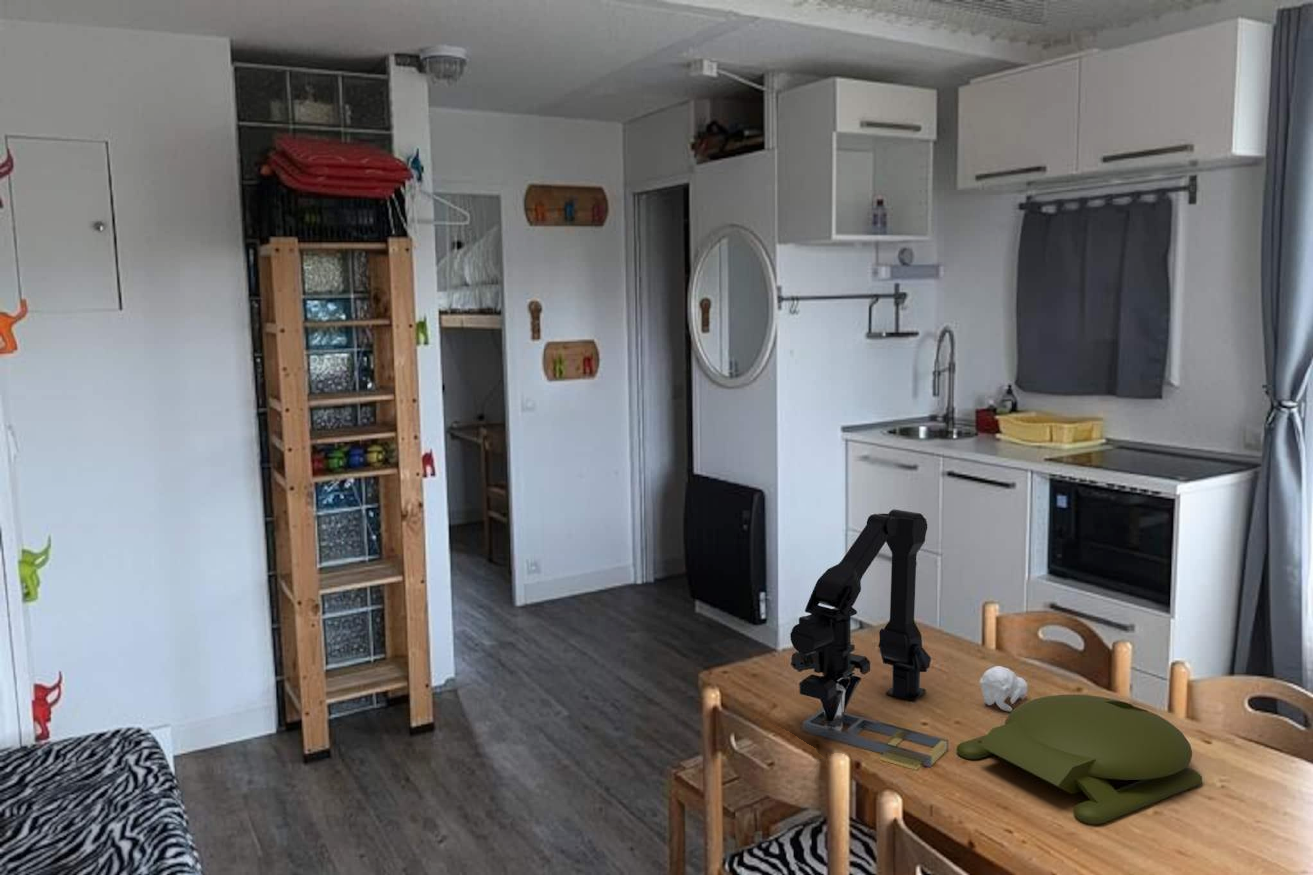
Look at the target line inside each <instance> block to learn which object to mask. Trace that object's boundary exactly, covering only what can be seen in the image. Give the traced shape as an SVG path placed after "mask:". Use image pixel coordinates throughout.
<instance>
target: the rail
mask: <svg viewBox="0 0 1313 875" xmlns="http://www.w3.org/2000/svg"><path fill="white" fill-rule="evenodd" d="M823 721H825V719H824V708H823V707H821V708H820V709H819V710H817V711H816V712H815V713H814V714H812V715H811V716H809V717H808V718H806V719H805V720H803V721H802V732H805V733H809V734H811V735H814V736H818V737H821V738H825V739H829V740H833V741H837V742H840V743H843V744H846V745H851V746H854V747H858V748H861V749H864V750H868V751H871V752H875V753H879V754H881V755H880V757H879V759H880V761H884V762H887V763H890V764H895V765H897V766H901V767H904V768H908V769H912V770H914V771H918V770H919V768H920V767H921V766H924V767H927V768H931V767H932V766H933V765H934V764H935V763H936V762H937V761H938V760H939V759H940V758H941V757H942V756H943V755H944V754H945V753H946V752H947V751H948V750H949V739H945V738H941V737H937V736H934V735H931V734H926V733H922V732H920V731H919V732H918V731H915V730H912V729H907V728H904V727H900V726H895V725H893V724H888V723H886V722H881V721H878V720H873V719H869V718H866V717H862V716H858V715H854V714H851V713H847V712H844V715H843V724H846V725H849V727H848V728H847V729H845V730H844V731H842V730H841V731H839V730H836V729H832V728H828V727H825V725H821V724H820V723H822V722H823ZM864 729H865V730H867V731H868V730H869V731H872V732H876V733H880V734H883V735H885V736H890V737H889V738H887V739H886V740H885V741H884V742H882V741H878V740H875V739H871V738H867V737H864V736H861V735H859V733H860V732H861V731H863V730H864ZM903 740H905V741H909V742H913V743H916V744H919V745H923V746H927V747H931V750H929V751H928V753H921V752H918V751H915V750H912V749H911V750H910V749H907V748H903V747H901V746H898V745H899V743H900V744H901V742H902V741H903Z"/></svg>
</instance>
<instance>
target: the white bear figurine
mask: <svg viewBox="0 0 1313 875" xmlns="http://www.w3.org/2000/svg"><path fill="white" fill-rule="evenodd" d="M979 685H980V689H981V690H980V691H981V693H982V697H983V700H984V702H985V704H986V705H988V706H992V705H994V704H995V703H996V705H997V707H998V708H1000V710H1002V711H1005V712H1009V713H1011V712H1012V711H1013V708H1012V707H1011V706H1010V705H1009V704H1008V703H1006V702H1005V700H1006V699H1007V698H1010V700H1009V702H1010V703H1011V704H1012V705H1013V704H1014V703H1015V702H1016V701H1017V700H1018V699H1022V701H1024V698H1026V697H1027V695H1028V694H1027V691H1028V683H1027V682H1026V680H1025V679H1024V678H1023V677H1021V676H1017V675H1016V674H1015V672H1013V670H1011V669H1009V668H1007V667H1004V666H1001V665H996V666H993V667H990V668H989V669H987V670H986V671H985V672H984V673H983V675H982V677H981V678H980V679H979Z"/></svg>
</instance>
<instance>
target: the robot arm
mask: <svg viewBox="0 0 1313 875" xmlns="http://www.w3.org/2000/svg"><path fill="white" fill-rule="evenodd" d="M866 520H867V521H866V525H865V527H864V528H862V530H861V532H860V533H859V535H858V536H857V538H856V539H855V541H854V542H853V543H852V545H851V546H850V548H849V549H848V551H847V552H846V554H845V555H844V556H843V558H842V559H841V561H840V562H839V563H837V564H835V565H834V566H831V567H830V568H827V569H826V570H825V572H823V574H822V575H821V576H820V577H819V578H818V579H817V581H816V582H815V585H814V587H813V589H812V593H811V595H810V597H809V599H808V602H807V604H806V607H805V609H804V611H805V613H808V614H809V615H804V616H803V615H802V616H800V617H799V618H798V623H796V624H795V625H794V626H793V627H792V629H791V632H790V636H789V637H790V642H791V645H792V646H793V648H794V649H795V650H796V651H795V652H793V653H792V654H791V658H790V659H791V662H790V666H791V667H792V669H794V670H796V672H797V673H800V672H803V671H807V670H813V674H809V675H808V676H807V677H805V678H804V679H802V680H801V681H800V682H799V683H798V693H799V694H800V695H803V696H806V697H809V698H814V699H817V700H820V703H821V706H822V708H824V711H825V714H826V717H827V720H828V721H831V722H833V721H834V718H835V715H836V712H837V709H838V706H839V703H840V700H841V697H842V694H843V691H840V690H838V684H840V685H842V686H843V687H844V688H845V689H846V688H847V689H846V694H845V703H844V712H845V711H846V709H847V706H848V705H849V704H850V703H849V702H850V700H851V699H852V696H853V694H854V693H855V691H856V689H857V687H858V685H859V683H860V682H861V681H862V677H860V676H856V675H855V674H856V673H855V669H858V670H859V672H860V674H861V675H863V676H864V675H867V674H868V673H869V672H870V671H871V661H870V660H869V659H868V658H867V656H863V655H860V654H855V653H852V652H854V651H855V649H856V647H855V646H856V645H855V644H852V643H851V636H852V634H851V633H852V632H851V626H852V625H851V621H852V620H851V619H852V618H851V617H852V616H855V615H857V614H858V611H857V609H855V608H854V607H853V606H854V605H855V603H856V601H857V599H858V597H859V596H860V592H862V584H861V582H862V579H863V576H864V575H865V573H866V572H867V570H868V569H869V567H870V565H872V563H873V562H874V560H875V558H876V557H877V556H878V554H879V552H880V551H881V549H882V548H883V546H884V545H885V544H887V546H888V548H889V550H890V552H891V574H890V575H891V576H890V580H891V581H890V597H889V598H890V601H889V602H890V603H889V619H888V620H889V621H888V622H887V624H886V625H884V628H880V630H879V634H878V635H879V643H878V646H877V647H878V648H879V652H880V653H879V654H881V660H882V662H883V665H884V664H885V665H890V666H891V669H892V671H891V672H892V673H891V681H892V682H891V683H892V684H891V685H892V686H891V687H890V688H889V689H888V690H886V691H885V695H887V696H891V697H894V698H898V699H899V698H900V699H903V700H908V701H912V702H915V701H917V700H918V699H919V698H920V697H921V696H922V695H923V694H925V693H926V692H927V690H926V689H925V688H922V687H921V673H926V672H927V671H928V669H929V668H930V665H931V660H932V658H931V656H930V655H929V654H928V652H927V651H926V650H925V649H924V648H923V642H922V638H923V637H922V634H921V632H920V630H919V628H918V626H917V624H916V622H915V609H916V608H915V607H916V606H915V604H916V579H917V578H916V575H917V555H918V552H919V551H920V549H921V548H922V547H923V545H924V544H925V543H926V534H927V531H928V522H927V519H926V518H925V517H924V515H923V514H922V513H919V512H913V511H906V510H900V509H895V508H894V509H891V510H890V511H889V512H888V513H873V514H870V515H869V516H868V518H867V519H866ZM819 604H821V605H819ZM822 605H823V606H822ZM827 606H828V607H827ZM830 607H832V608H830ZM814 673H817V674H820V673H821V674H822V675H816V674H814ZM849 682H850V683H849ZM848 684H849V685H848ZM847 686H848V687H847Z"/></svg>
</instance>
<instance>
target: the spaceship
mask: <svg viewBox="0 0 1313 875" xmlns="http://www.w3.org/2000/svg"><path fill="white" fill-rule="evenodd" d="M956 751H957V754H958V755H959V756H961V757H962V758H964V759H966V760H975V761H976V760H980V759H982V758H986V757H988V756H991V755H995V756H997V757H999V758H1000V759H1003V760H1005V761H1006V762H1008V763H1011V764H1013V765H1014V766H1016V767H1018V768H1020V769H1022V770H1024V771H1025V772H1028V773H1030V774H1032V775H1033V776H1036V777H1037V778H1039V779H1041V780H1043V781H1045V782H1047V783H1049V784H1051V785H1053V786H1054V787H1057V788H1059V789H1060V790H1063V791H1064V792H1067V793H1069V794H1070V795H1075V794H1076V793H1080V792H1083V793H1084V794H1085V796H1086V797H1087V798H1088V799H1087V800H1085V801H1082V802H1080V803H1077V804H1076V805H1075V806H1074V807H1073V815H1074V816H1075V818H1076V819H1077V820H1079V821H1080V822H1083V823H1085V824H1088V825H1093V826H1094V825H1097V826H1098V825H1102V824H1104V823H1108V822H1110V821H1112V820H1115V819H1117V818H1119V817H1122V816H1124V815H1127V814H1129V813H1132V812H1135V811H1137V810H1140V809H1143V808H1145V807H1148V806H1150V805H1153V804H1155V803H1157V802H1160V801H1162V800H1165V799H1168V798H1170V797H1173V796H1174V795H1177V794H1180V793H1182V792H1186V791H1188V790H1190V789H1193V788H1195V787H1197V786H1199V785H1200V784H1202V782H1203V776H1202V775H1201V774H1200V773H1199V772H1198V771H1197V770H1195V769H1192V768H1190V767H1187V766H1189V764H1190V763H1191V761H1192V757H1193V750H1192V746H1191V744H1190V742H1189V740H1188V739H1187V738H1186V736H1185V735H1184V734H1183V732H1182V731H1181V730H1180V729H1178V728H1177V727H1176V726H1175V725H1174V724H1172V723H1171V722H1170V721H1168V720H1167V719H1165V718H1164V717H1162V716H1160V715H1158V714H1156V713H1154V712H1152V711H1149V710H1147V709H1144V708H1142V707H1141V708H1140V707H1137V706H1134V705H1133V704H1132V703H1129V702H1125V701H1122V700H1119V699H1114V698H1110V697H1109V698H1108V697H1104V696H1098V695H1096V696H1095V695H1088V694H1074V693H1073V694H1057V695H1049V696H1043V697H1038V698H1034V699H1032V700H1029V701H1027V702H1026V701H1025V702H1024V703H1022V704H1020V705H1018V706H1017V707H1015V708H1014V709H1012V711H1011V712H1009V715H1008V716H1007V717H1006V718H1005V720H1004V724H1001V725H999V726H995V727H993V728H992V729H990V731H988V733H987V734H985V735H982V736H981V735H980V736H979V737H976V738H975V737H974V738H972V739H969V740H965V741H963V742H960V743H959V744H958V745H957V746H956ZM1107 779H1108V780H1123V781H1132V780H1133V781H1135V780H1136V782H1132V783H1131V784H1128V785H1124V786H1122V787H1120V788H1117V789H1115V788H1114V787H1113V786H1112V785H1111V783H1109V781H1108V780H1107Z"/></svg>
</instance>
